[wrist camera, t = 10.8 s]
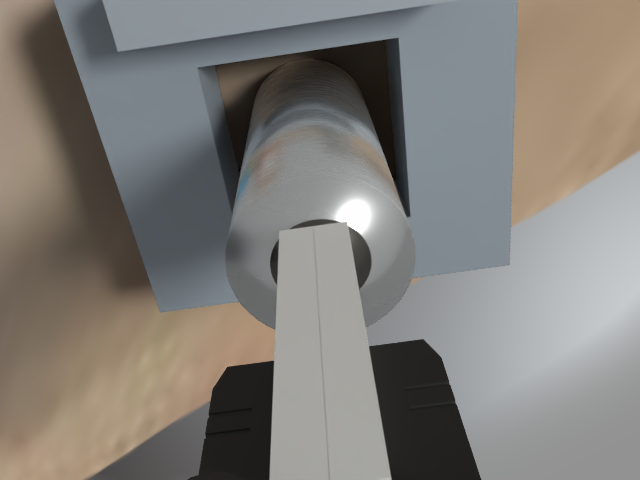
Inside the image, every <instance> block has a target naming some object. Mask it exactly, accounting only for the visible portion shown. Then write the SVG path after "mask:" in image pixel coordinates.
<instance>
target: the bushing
mask: <svg viewBox="0 0 640 480" xmlns="http://www.w3.org/2000/svg"><path fill="white" fill-rule="evenodd" d="M346 221H347V222H348V228H349V234H350V239H351V245H352V251H353V257H354V263H355V269H356V274H357V280H358V286H359V292H360V298H361V304H362V310H363V315H364V321H365V327H368V326H370V325H372V324H373V323H375V322H377V321H378V320H380V319H381V318H382V317H384V316H385V315H386V314H387V313H388V312H390V311H391V310H392V309H393V308H394V306H395V305H396V304H397V303H398V302H399V301H400V300H401V298H402V297H403V295H404V294H405V292H406V290H407V288H408V286H409V284H410V282H411V279H412V276H413V273H414V268H415V262H416V249H415V242H414V238H413V235H412V231H411V228H410V226H409V223H408V220H407V217H406V215H405V212H404V209H403V206H402V203H401V201H400V198H399V195H398V192H397V189H396V187H395V184H394V181H393V178H392V175H391V173H390V170H389V167H388V164H387V162H386V159H385V156H384V153H383V150H382V148H381V145H380V142H379V139H378V136H377V134H376V131H375V128H374V125H373V123H372V120H371V117H370V114H369V111H368V109H367V106H366V103H365V100H364V97H363V95H362V92H361V90H360V88H359V86H358V85H357V83H356V82H355V80H354V79H353V78H352V77H351V76H350V75H349V74H348V73H347V72H346V71H345V70H343V69H342V68H340V67H339V66H337V65H335V64H333V63H330V62H327V61H324V60H319V59H300V60H295V61H292V62H289V63H286V64H284V65H282V66H280V67H279V68H277V69H276V70H274V71H273V72H272V73H271V74H270V75H269V76H268V77H267V78H266V79H265V80H264V82H263V83H262V85H261V86H260V88H259V90H258V92H257V94H256V97H255V101H254V105H253V110H252V115H251V120H250V126H249V131H248V136H247V141H246V146H245V152H244V157H243V162H242V167H241V172H240V178H239V183H238V188H237V193H236V198H235V204H234V209H233V214H232V219H231V224H230V230H229V235H228V240H227V245H226V253H225V267H226V273H227V278H228V281H229V284H230V286H231V288H232V290H233V292H234V294H235V296H236V298H237V299H238V300H239V302H240V303H241V305H242V306H243V307H244V308H245V309H246V310H247V311H248V312H249V313H250V314H251V315H252V316H254V317H255V318H256V319H257V320H259V321H260V322H262V323H263V324H265V325H267V326H269V327H271V328H273V329H276V304H277V279H278V253H279V231H282V230H289V229H296V228H303V227H311V226H318V225H325V224H332V223H339V222H346Z"/></svg>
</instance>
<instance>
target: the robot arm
mask: <svg viewBox="0 0 640 480" xmlns="http://www.w3.org/2000/svg"><path fill="white" fill-rule="evenodd" d="M205 434H206V439H204V445H203V451H202V458H201V464H200V470H199V475H198V476H194V477H191V478H189V479H188V480H481V478H480V475H479V472H478V469H477V466H476V463H475V459H474V457H473V453H472V450H471V447H470V444H469V441H468V438H467V435H466V432H465V429H464V426H463V423H462V420H461V416H460V413H459V410H458V407H457V405H456V403H455V398H454V395H453V392H452V389H451V386H450V385H449V380H448V377H447V374H446V371H445V368H444V364H443V361H442V358H441V357H440V356H439V355H438V354H437V353H436V352H435V351H434V350H433V349H432V348H431V347H430V346H429V345H428V344H427V343H426V342H425V341H424V340H423V339H422V340H414V341H406V342H399V343H391V344H384V345H376V346H369V345H368V339H367V333H366V327H365V321H364V315H363V310H362V304H361V298H360V292H359V286H358V280H357V274H356V269H355V263H354V257H353V251H352V245H351V239H350V234H349V228H348V222H347V221H346V222H339V223H332V224H325V225H318V226H311V227H303V228H296V229H289V230H282V231H279V253H278V279H277V304H276V329H275V354H274V361H269V362H261V363H253V364H246V365H238V366H231V367H227V368H226V370H225V371H224V373H223V374H222V376H221V377H220V379H219V380H218V382H217V383H216V385H215V386H214V388H213V390H212V396H211V403H210V409H209V418H208V421H207V427H206V433H205Z"/></svg>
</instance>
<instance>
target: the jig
mask: <svg viewBox="0 0 640 480" xmlns="http://www.w3.org/2000/svg"><path fill="white" fill-rule="evenodd" d="M54 3H55V6H56V8H57V11H58V14H59V17H60V20H61V23H62V26H63V29H64V32H65V35H66V38H67V41H68V44H69V47H70V49H71V52H72V55H73V58H74V61H75V64H76V67H77V70H78V73H79V76H80V79H81V82H82V85H83V88H84V90H85V93H86V96H87V99H88V102H89V105H90V108H91V111H92V114H93V117H94V120H95V123H96V126H97V129H98V132H99V134H100V137H101V140H102V143H103V146H104V149H105V152H106V155H107V158H108V161H109V164H110V167H111V170H112V173H113V175H114V178H115V181H116V184H117V187H118V190H119V193H120V196H121V199H122V202H123V205H124V208H125V211H126V214H127V216H128V219H129V222H130V225H131V228H132V231H133V234H134V237H135V240H136V243H137V246H138V249H139V252H140V255H141V257H142V260H143V263H144V266H145V269H146V272H147V275H148V278H149V281H150V284H151V287H152V290H153V293H154V296H155V299H156V301H157V304H158V307H159V310H160V312H167V311H175V310H182V309H189V308H197V307H204V306H211V305H219V304H226V303H234V302H239V300H238V299H237V298H236V296H235V294H234V292H233V290H232V288H231V286H230V284H229V281H228V278H227V273H226V267H225V253H226V245H227V240H228V235H229V230H230V224H231V219H232V214H233V209H234V204H235V198H236V193H237V188H238V183H239V178H240V176H239V171H238V167H237V162H236V158H235V153H234V149H233V145H232V140H231V136H230V131H229V127H228V122H227V118H226V113H225V109H224V104H223V100H222V95H221V91H220V86H219V82H218V77H217V73H216V69H215V65H218V64H225V63H231V62H238V61H245V60H251V59H258V58H265V57H272V56H278V55H285V54H292V53H298V52H305V51H312V50H318V49H325V48H332V47H339V46H345V45H352V44H359V43H365V42H372V41H379V40H386V53H387V66H388V79H389V92H390V105H391V117H392V130H393V143H394V156H395V169H396V179H393V181H394V184H395V187H396V189H397V192H398V195H399V198H400V201H401V203H402V206H403V209H404V212H405V215H406V217H407V220H408V223H409V226H410V228H411V231H412V235H413V238H414V242H415V249H416V262H415V268H414V273H413V276H412V278H418V277H425V276H433V275H440V274H447V273H455V272H462V271H469V270H477V269H484V268H491V267H499V266H506V265H509V264H510V234H511V203H512V171H513V138H514V106H515V74H516V42H517V10H518V0H54Z"/></svg>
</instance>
